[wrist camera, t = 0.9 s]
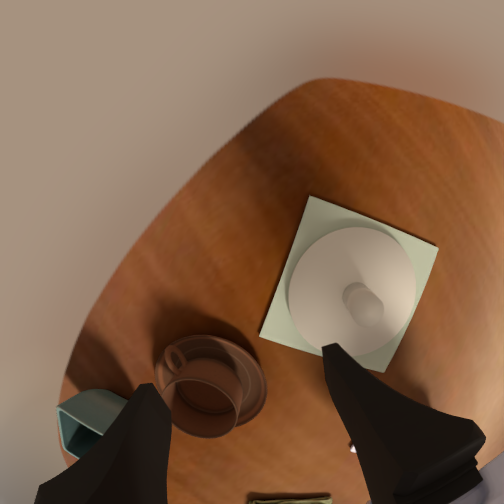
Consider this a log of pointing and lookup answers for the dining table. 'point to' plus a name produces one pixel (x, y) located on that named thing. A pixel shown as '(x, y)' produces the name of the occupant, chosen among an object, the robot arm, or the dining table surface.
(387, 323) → the lid
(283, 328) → the plate
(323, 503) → the washcloth
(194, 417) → the cup and saucer
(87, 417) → the flower pot
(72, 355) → the dining table surface
